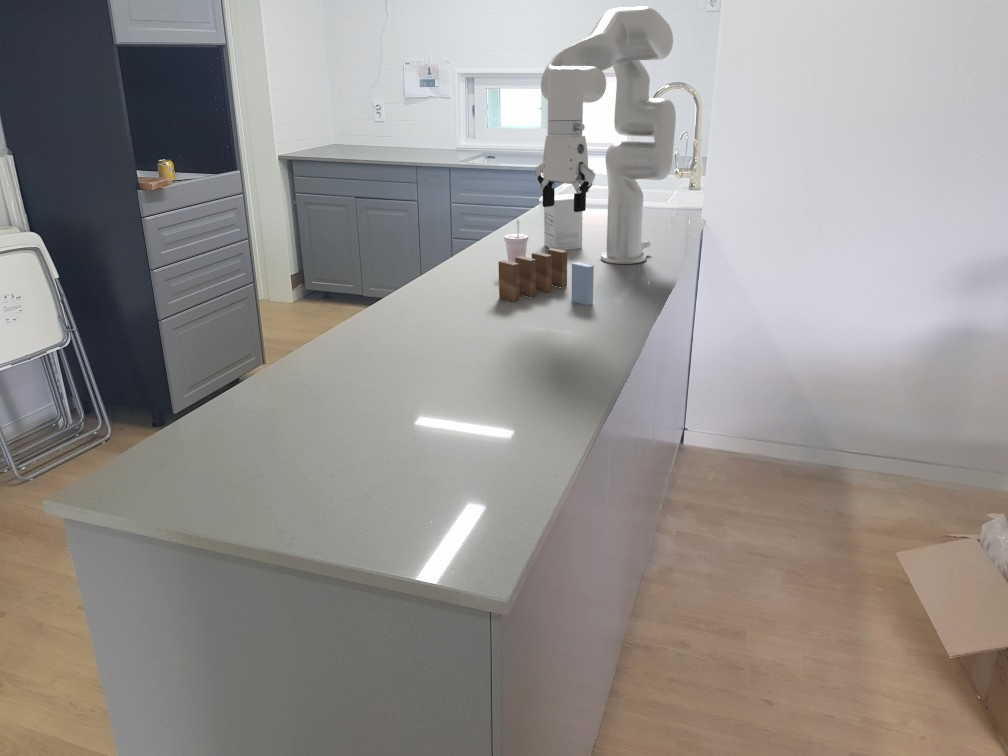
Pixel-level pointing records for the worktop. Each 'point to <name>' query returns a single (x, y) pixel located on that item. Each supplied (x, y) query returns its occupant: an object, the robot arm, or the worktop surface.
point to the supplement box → (562, 224)
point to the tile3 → (543, 271)
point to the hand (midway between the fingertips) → (563, 208)
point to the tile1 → (582, 283)
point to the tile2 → (558, 267)
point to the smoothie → (516, 244)
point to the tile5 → (508, 281)
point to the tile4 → (527, 276)
